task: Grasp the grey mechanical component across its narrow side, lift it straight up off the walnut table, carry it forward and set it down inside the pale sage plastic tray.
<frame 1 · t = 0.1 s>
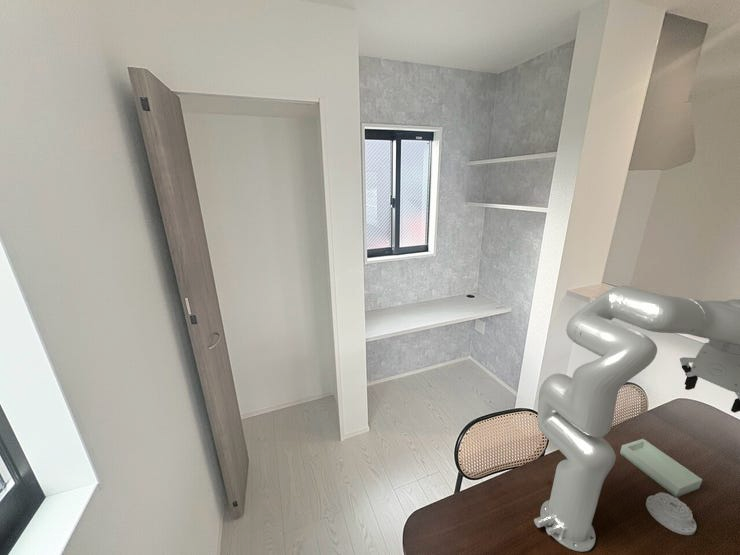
hand: (711, 399, 83), 31 cm above the table, fingers open, 9 cm apart
tray: (656, 469, 96), on the table
mechanical component: (669, 516, 83), on the table
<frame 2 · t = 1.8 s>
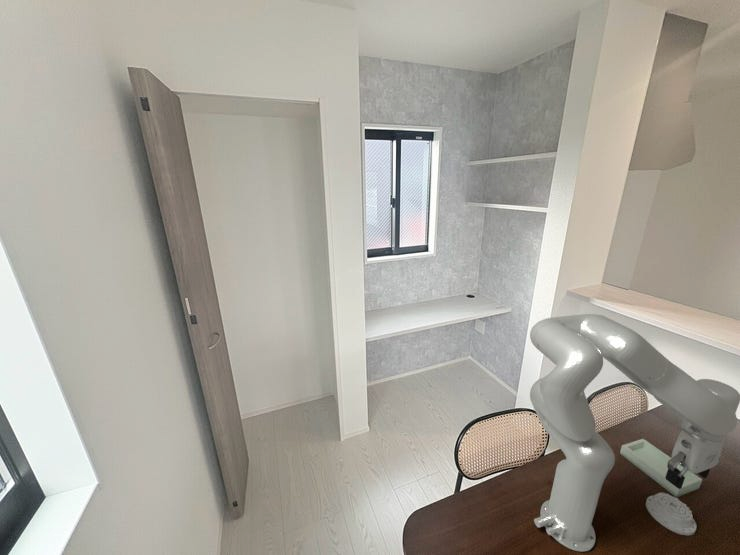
hand: (685, 478, 79), 14 cm above the table, fingers open, 9 cm apart
nothing on the table moved.
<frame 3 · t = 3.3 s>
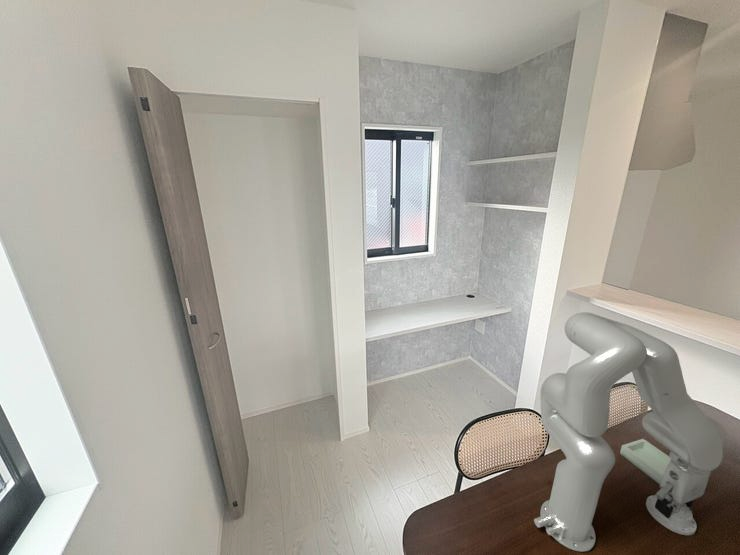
hand: (672, 508, 82), 3 cm above the table, fingers closed on mechanical component, 7 cm apart
mechanical component: (669, 516, 83), on the table, touching gripper
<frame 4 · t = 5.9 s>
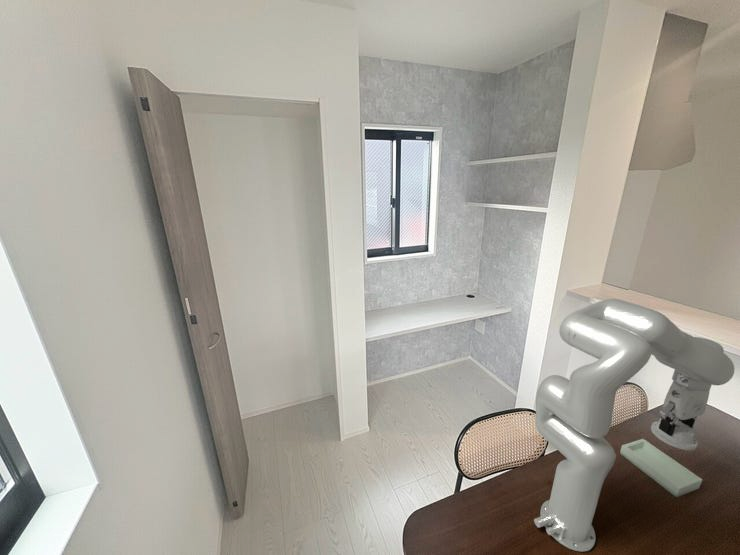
hand: (675, 428, 89), 18 cm above the table, fingers closed on mechanical component, 7 cm apart
mechanical component: (672, 437, 90), point 15 cm above the table, touching gripper
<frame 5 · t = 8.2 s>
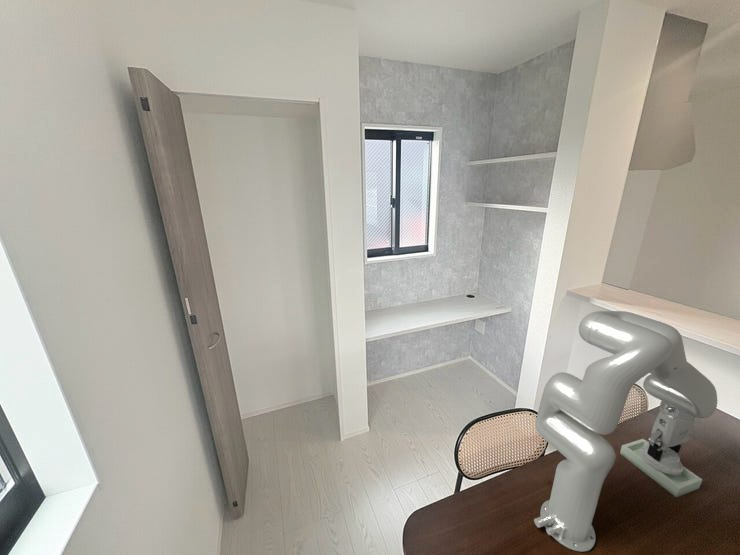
hand: (662, 453, 94), 7 cm above the table, fingers closed on mechanical component, 7 cm apart
mechanical component: (660, 462, 95), point 3 cm above the table, touching gripper, tray
when the fingers open (6 cm above the table, at t = 8.3 s): mechanical component stays where it is, resting on tray.
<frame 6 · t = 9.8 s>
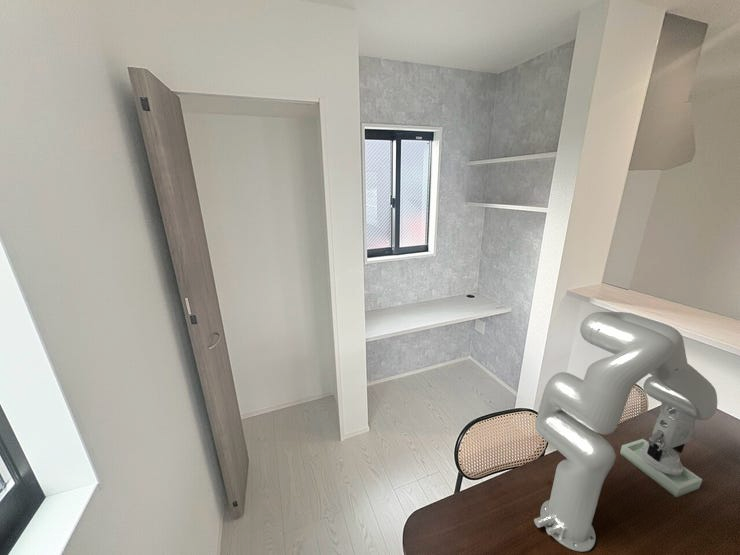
hand: (664, 453, 95), 6 cm above the table, fingers open, 9 cm apart
mechanical component: (660, 462, 95), point 3 cm above the table, touching gripper, tray
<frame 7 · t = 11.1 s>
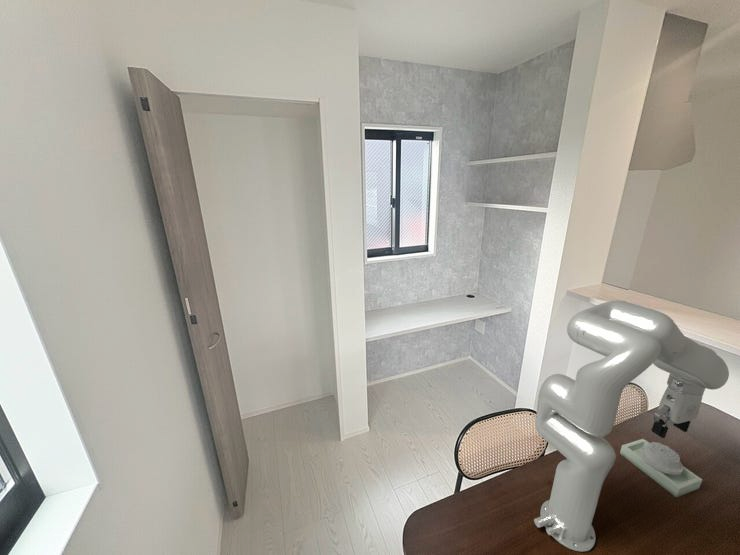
hand: (668, 431, 91), 16 cm above the table, fingers open, 9 cm apart
mechanical component: (660, 462, 95), point 3 cm above the table, touching tray
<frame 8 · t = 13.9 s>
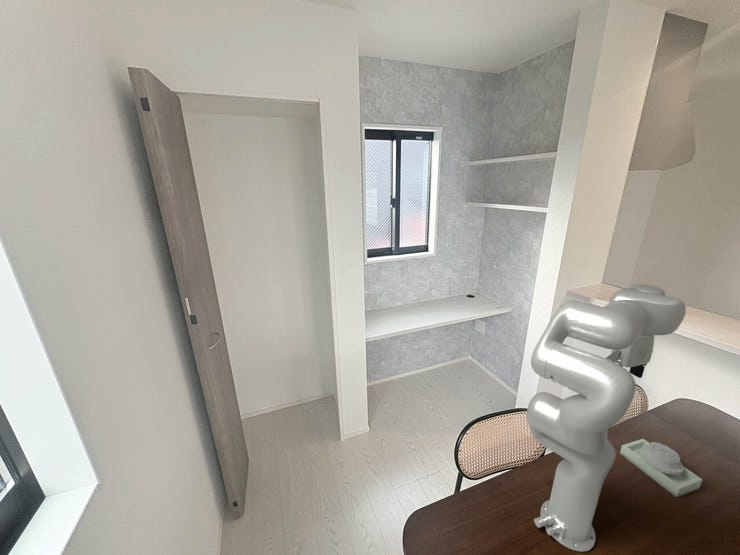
hand: (623, 378, 89), 33 cm above the table, fingers open, 9 cm apart
nothing on the table moved.
at the end: mechanical component inside the target area on the tray (0.1 cm from its centre), point 3.3 cm above the tray's base; the gripper is holding nothing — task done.
